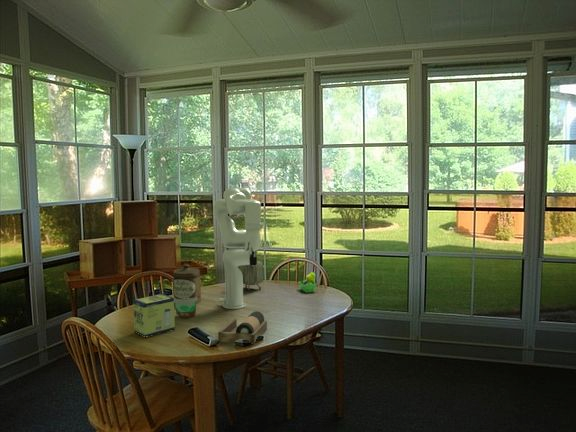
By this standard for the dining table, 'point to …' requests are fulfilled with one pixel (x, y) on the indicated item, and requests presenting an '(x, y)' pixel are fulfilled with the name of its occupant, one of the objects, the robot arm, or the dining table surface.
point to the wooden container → (187, 283)
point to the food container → (185, 307)
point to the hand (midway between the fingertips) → (253, 264)
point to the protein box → (153, 315)
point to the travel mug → (251, 323)
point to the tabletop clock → (252, 274)
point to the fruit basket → (308, 283)
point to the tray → (231, 336)
